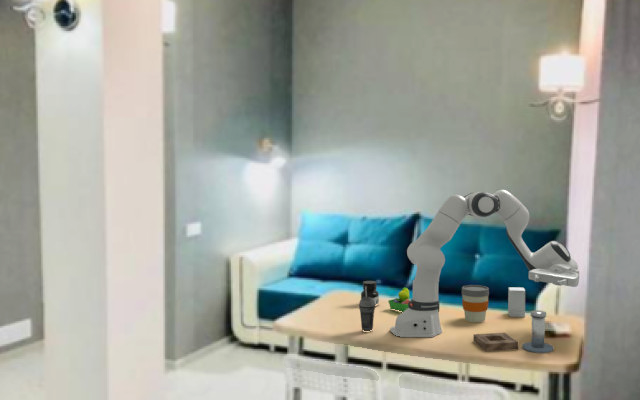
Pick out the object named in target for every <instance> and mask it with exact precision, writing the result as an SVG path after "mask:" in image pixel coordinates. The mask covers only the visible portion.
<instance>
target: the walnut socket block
mask: <svg viewBox="0 0 640 400" xmlns="http://www.w3.org/2000/svg"><path fill="white" fill-rule="evenodd" d="M472 338H473V341H472V342H474V343H475V344H476V345H477V346H478V347H480V348H481V349H482V350H483V351H485V352H497V351H498V352H499V351H500V352H501V351H512V350H519V341H517V340H516V339H514V338H513V337H511V335H509V334H508V333H506V332H493V333H492V332H491V333H474V334H473V337H472Z"/></svg>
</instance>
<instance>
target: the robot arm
mask: <svg viewBox="0 0 640 400" xmlns="http://www.w3.org/2000/svg"><path fill="white" fill-rule="evenodd" d="M494 214H496V215H497V216H498V217H499V219H501V220H502V221H503V223H504V224H505V226H506V231H505V233H506V236H507V238H508V240H509V241H510V243H511V245H512V246H513V247H514V249H515V250H516V252H517V253H518V255H519V256H520V258H521V259H522V260H523V262H524V264H525V266H526V268H527V270H528V279H529V280H530V281H534V282H535V283H536V282H537V283H539V282H540V283H541V282H542V283H548V284H553V285H555V286H558V287H559V286H560V287H562V286H566V287H567V286H568V287H573V288H576V287H577V286H579V285H580V284H579V283H580V270H579V265H578V262H577V261H576V260H575V259H573V258H572V257H571V253H570V251H569V249H568V248H567V247H566V245H564V244H563V243H561V242H559V241H557V240H551V241H549V242H547V243H546V244H544V246H542V247H541V248H540V249H538V250H537V251H535V252H532V251H531V250H530V248H529V247H528V246H527V244H526V242H525V241H524V239H523V237H522V235H523V232H524V231H525V230H526V228H527V227H528V224H529V221H530V212H529V210H528V208H527V207H526V206H525V205H524V204H523V203H522V202H521V201H520V200H519V199H518V198H517V197H516V196H515V195H513V194H512V193H510V192H509V191H507V190H505V189H500V190H497V191H495V192H494V193H489V192H485V191H475V192H470V193H468V194H467V195H465V196H463V195H460V194H452V195H449V197H448V198H447V199H446V200H445V201H444V203H443V204H442V205H441V206H440V208H439V210H437V212H436V213H435V216H434V217H433V219H432V220H431V222H430V223H429V225H428V226H427V228H426V229H425V230H424V231H423V232H422V233H421V234H420V235H419V236H418V237H417V238H416V239H415V241H413V242H412V243H410V244H409V246H408V247H407V249H406V253H407V258H408V259H409V261H410V262H411V264H413V265H415V266H416V270H415V271H416V273H415V276H414V279H413V280H412V299H411V300H410V298H409V299H406V300H405V303H406V304H408V309H406V310H405V311H404V312H403V313H400V314H398V315H397V317H396V319H395V324H394V326H390V328H389V331H390V330H391V332H392V333H393V334H394V335H393V334H392V333H391V332H390V333H391V334H392V335H393V336H395V335H396V336H395V337H397V336H400V337H399V338H433V337H435V336H438V335H440V334H442V331H443V330H442V327H441V323H440V314H439V313H440V307H441V306H440V299H439V282H440V275H441V273H442V272H441V271H442V268H443V267H444V265H445V263H446V258H445V254H444V253H443V252H442V250H441V248H442V247H443V246H444V245H446V244H447V243H449V242H450V241H451V240H452V238H453V237H454V235H455V234H456V231H457V230H458V228H459V227H460V225H461V223H462V222H463V220H464V219H465V218H466V216H472V217H475V218H487V217H490V216H491V215H494Z"/></svg>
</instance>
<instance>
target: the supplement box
mask: <svg viewBox="0 0 640 400" xmlns="http://www.w3.org/2000/svg"><path fill="white" fill-rule="evenodd" d="M507 289H508V293H507V294H508V295H507V296H508V297H507V301H508V307H507V314H508V316H509V317H514V318H515V317H516V318H517V317H518V318H525V317H526V289H525V288H524V287H519V286H518V287H509V286H508V288H507Z"/></svg>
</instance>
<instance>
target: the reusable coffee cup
mask: <svg viewBox="0 0 640 400" xmlns="http://www.w3.org/2000/svg"><path fill="white" fill-rule="evenodd" d="M489 289H490V288H489V287H487V286H485V285H479V284H468V285H463V286H462V287H461V296H462V299H461V301H462V302H461V303H462V309H463V312H464V320H465V321H467V322H469V323H482V322H485V321H486V314H487V311H488V308H489V295H490V290H489Z"/></svg>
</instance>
